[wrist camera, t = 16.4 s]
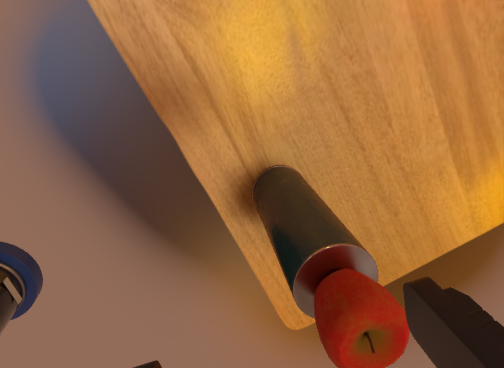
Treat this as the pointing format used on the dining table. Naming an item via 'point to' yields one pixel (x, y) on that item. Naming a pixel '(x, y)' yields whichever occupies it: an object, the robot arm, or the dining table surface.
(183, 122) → the dining table surface
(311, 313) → the tin can
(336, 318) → the apple
